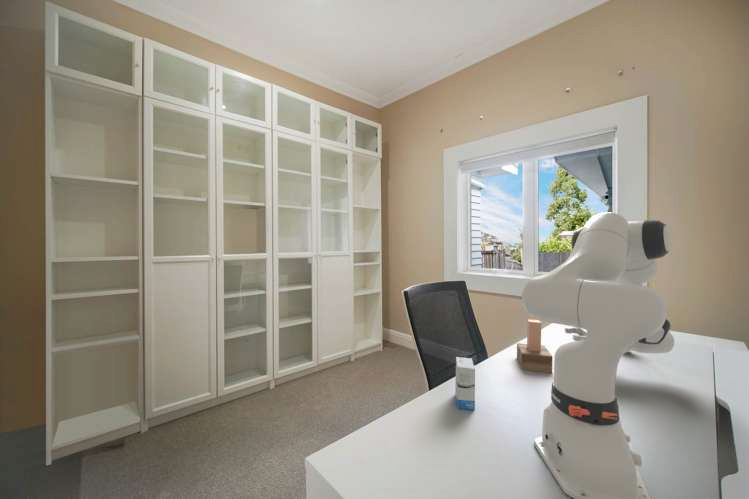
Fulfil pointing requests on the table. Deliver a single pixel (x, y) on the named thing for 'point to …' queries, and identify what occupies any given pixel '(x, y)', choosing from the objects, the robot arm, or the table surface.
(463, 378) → the ink box
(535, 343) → the terracotta block
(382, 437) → the table surface
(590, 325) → the robot arm
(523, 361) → the block
